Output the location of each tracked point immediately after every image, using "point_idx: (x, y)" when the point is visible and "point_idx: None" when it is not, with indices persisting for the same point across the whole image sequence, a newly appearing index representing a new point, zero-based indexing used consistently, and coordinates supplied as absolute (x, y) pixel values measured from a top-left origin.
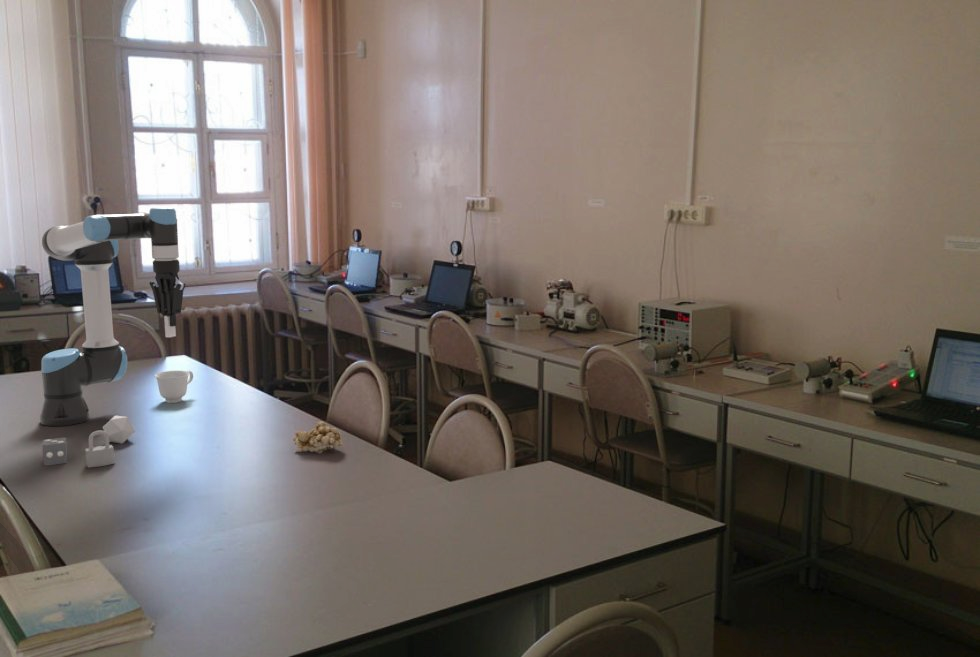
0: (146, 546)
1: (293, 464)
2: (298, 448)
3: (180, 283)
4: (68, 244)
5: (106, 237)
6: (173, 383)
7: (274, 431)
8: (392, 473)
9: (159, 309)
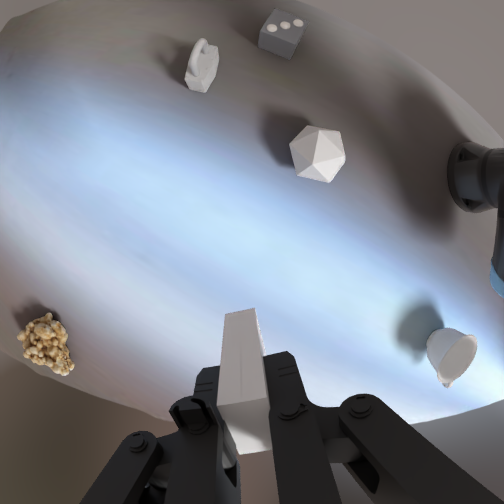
0: None
1: (25, 279)
2: (47, 314)
3: None
4: None
5: None
6: (441, 350)
7: (163, 362)
8: None
9: (353, 426)
